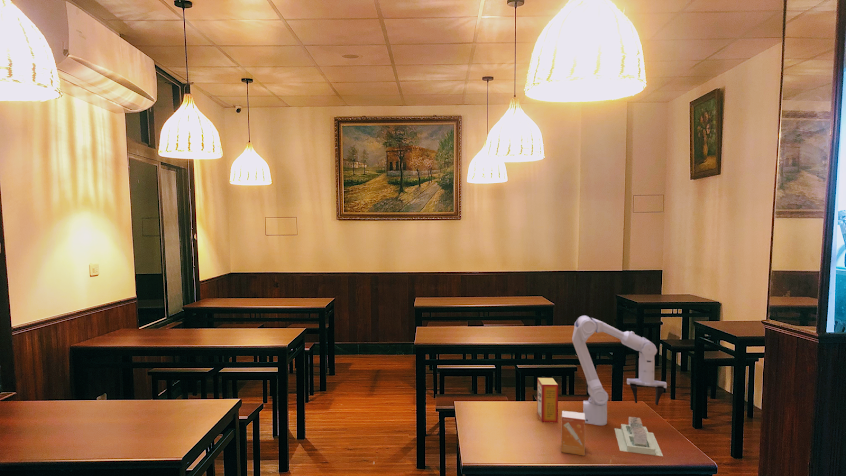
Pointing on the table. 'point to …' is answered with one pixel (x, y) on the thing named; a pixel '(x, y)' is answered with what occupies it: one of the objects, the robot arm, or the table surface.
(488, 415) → the table surface
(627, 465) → the table surface
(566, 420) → the small box
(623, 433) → the cream stepped base
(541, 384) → the baking soda box
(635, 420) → the block
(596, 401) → the robot arm
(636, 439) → the block
